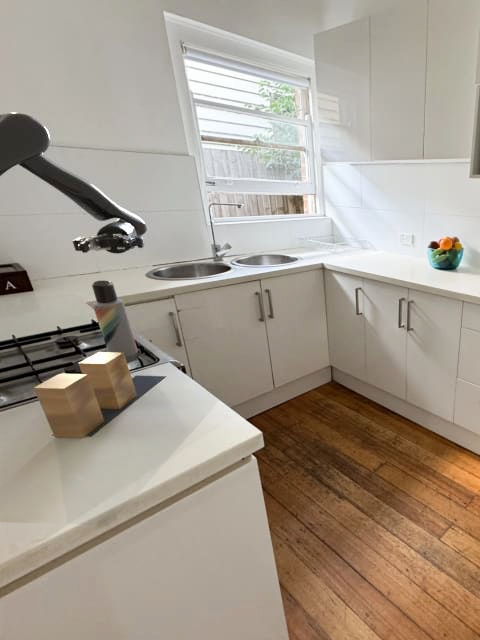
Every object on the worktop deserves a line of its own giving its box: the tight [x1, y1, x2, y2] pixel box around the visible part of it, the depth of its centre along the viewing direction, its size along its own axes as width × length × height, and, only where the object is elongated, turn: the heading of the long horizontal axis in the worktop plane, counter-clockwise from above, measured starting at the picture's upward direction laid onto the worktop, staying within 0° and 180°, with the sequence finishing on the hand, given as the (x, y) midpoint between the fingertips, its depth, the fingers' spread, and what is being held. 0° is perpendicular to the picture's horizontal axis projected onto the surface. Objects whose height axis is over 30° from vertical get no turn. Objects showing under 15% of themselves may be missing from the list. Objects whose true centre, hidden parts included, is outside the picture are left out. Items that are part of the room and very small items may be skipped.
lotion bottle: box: [91, 280, 140, 364], centre depth 91 cm, size 6×6×20 cm
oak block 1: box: [33, 373, 104, 439], centre depth 67 cm, size 5×5×10 cm
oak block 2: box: [78, 351, 137, 409], centre depth 75 cm, size 5×5×10 cm
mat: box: [51, 375, 167, 438], centre depth 77 cm, size 22×7×1 cm, turn 0°
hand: (104, 247), depth 93 cm, fingers open, 8 cm apart
